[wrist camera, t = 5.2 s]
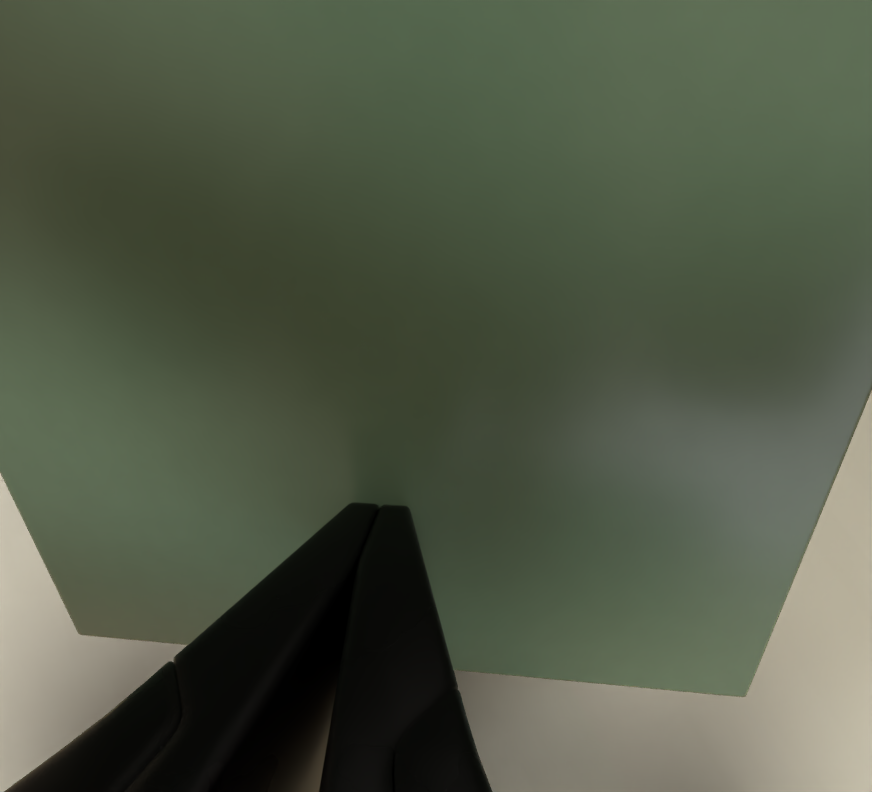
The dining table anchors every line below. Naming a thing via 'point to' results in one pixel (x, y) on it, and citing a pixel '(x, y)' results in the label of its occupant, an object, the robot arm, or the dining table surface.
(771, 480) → the sage green panel
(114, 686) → the dining table surface
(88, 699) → the dining table surface
